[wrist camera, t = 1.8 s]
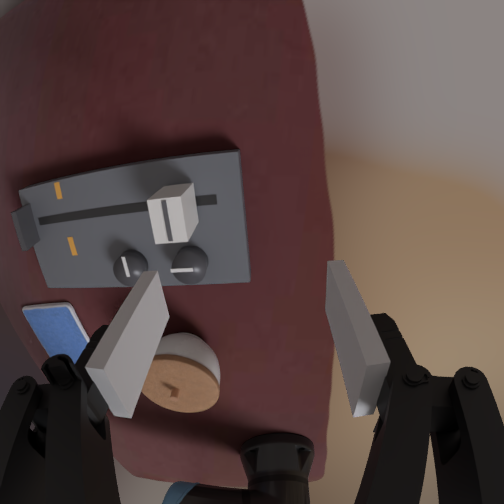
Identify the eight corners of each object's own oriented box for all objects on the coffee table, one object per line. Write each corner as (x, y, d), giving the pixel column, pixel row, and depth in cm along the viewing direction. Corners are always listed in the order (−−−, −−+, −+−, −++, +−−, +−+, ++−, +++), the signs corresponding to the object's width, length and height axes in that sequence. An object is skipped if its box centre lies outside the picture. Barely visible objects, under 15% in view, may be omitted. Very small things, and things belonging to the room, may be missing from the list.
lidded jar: (153, 310, 39) (130, 359, 31) (231, 329, 40) (225, 382, 31) (150, 363, 44) (133, 410, 35) (217, 379, 44) (210, 429, 36)
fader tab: (198, 221, 30) (187, 242, 26) (170, 224, 31) (154, 244, 26) (193, 182, 29) (180, 196, 24) (163, 186, 29) (146, 200, 24)
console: (250, 271, 36) (249, 297, 31) (56, 279, 38) (37, 299, 33) (239, 149, 30) (235, 155, 25) (29, 185, 32) (3, 197, 27)
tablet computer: (123, 387, 48) (120, 393, 46) (72, 384, 49) (70, 389, 48) (72, 299, 40) (68, 304, 38) (23, 304, 41) (19, 308, 40)
